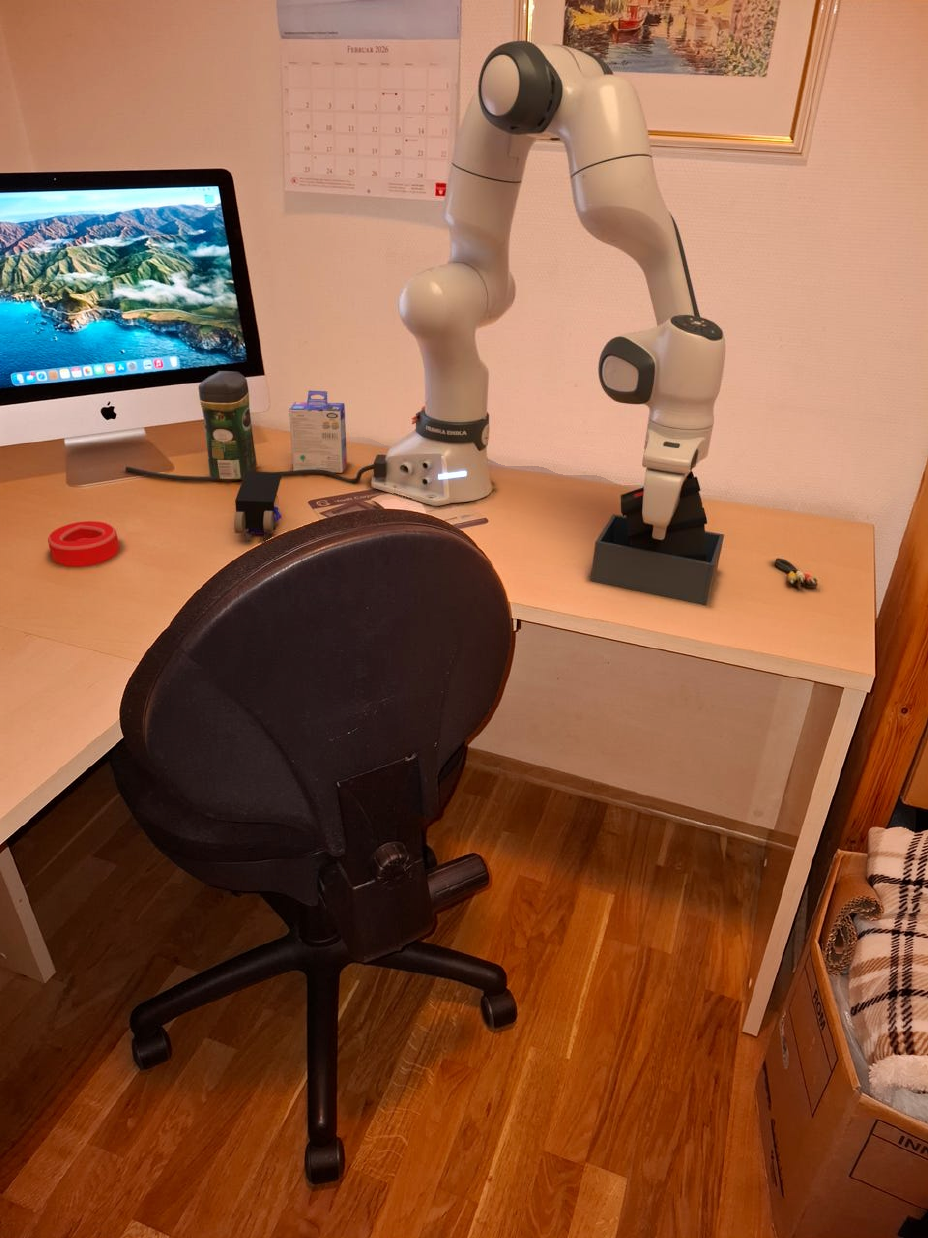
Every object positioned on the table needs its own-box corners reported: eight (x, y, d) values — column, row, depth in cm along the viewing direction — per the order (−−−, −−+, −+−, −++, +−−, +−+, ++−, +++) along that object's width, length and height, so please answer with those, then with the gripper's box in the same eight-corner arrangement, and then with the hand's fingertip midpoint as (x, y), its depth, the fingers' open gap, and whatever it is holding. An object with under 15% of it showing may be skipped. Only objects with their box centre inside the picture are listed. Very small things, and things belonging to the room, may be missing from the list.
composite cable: (771, 562, 135) (774, 548, 133) (801, 564, 135) (805, 550, 133) (788, 592, 126) (792, 578, 125) (820, 594, 126) (825, 579, 125)
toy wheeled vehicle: (278, 554, 135) (286, 506, 146) (273, 513, 130) (282, 467, 142) (235, 554, 134) (246, 506, 146) (229, 513, 129) (241, 467, 141)
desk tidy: (590, 580, 127) (595, 541, 124) (607, 550, 136) (612, 513, 133) (706, 605, 122) (714, 565, 119) (716, 572, 131) (724, 534, 128)
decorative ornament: (98, 533, 136) (94, 515, 134) (131, 551, 131) (128, 533, 129) (39, 552, 129) (35, 533, 128) (72, 572, 124) (67, 553, 123)
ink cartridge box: (348, 463, 166) (345, 389, 158) (344, 473, 161) (341, 398, 154) (297, 461, 166) (292, 388, 158) (292, 472, 161) (286, 396, 154)
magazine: (725, 568, 125) (696, 478, 119) (638, 594, 129) (606, 508, 123) (722, 556, 128) (694, 468, 122) (637, 582, 132) (606, 498, 126)
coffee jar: (221, 463, 164) (209, 366, 154) (261, 465, 163) (252, 368, 154) (204, 481, 155) (190, 380, 146) (246, 484, 155) (235, 383, 145)
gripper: (667, 416, 127) (654, 501, 135) (640, 459, 111) (626, 553, 118) (710, 422, 126) (694, 508, 133) (688, 466, 109) (671, 562, 116)
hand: (662, 530), depth 125 cm, fingers closed on magazine, 4 cm apart
